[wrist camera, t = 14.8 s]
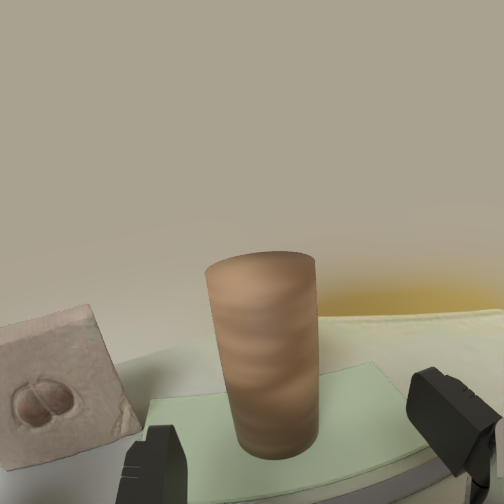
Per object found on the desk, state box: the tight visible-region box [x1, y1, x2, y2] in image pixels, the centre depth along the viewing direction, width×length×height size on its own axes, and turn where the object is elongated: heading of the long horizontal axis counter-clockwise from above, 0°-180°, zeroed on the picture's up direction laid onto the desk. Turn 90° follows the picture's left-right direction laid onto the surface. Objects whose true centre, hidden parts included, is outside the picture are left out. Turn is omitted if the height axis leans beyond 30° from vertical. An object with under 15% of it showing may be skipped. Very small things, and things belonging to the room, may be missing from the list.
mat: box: [141, 362, 430, 504], centre depth 17 cm, size 18×10×1 cm, turn 97°
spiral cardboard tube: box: [205, 251, 319, 460], centre depth 16 cm, size 5×5×11 cm
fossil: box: [0, 304, 142, 471], centre depth 15 cm, size 12×4×10 cm, turn 128°
